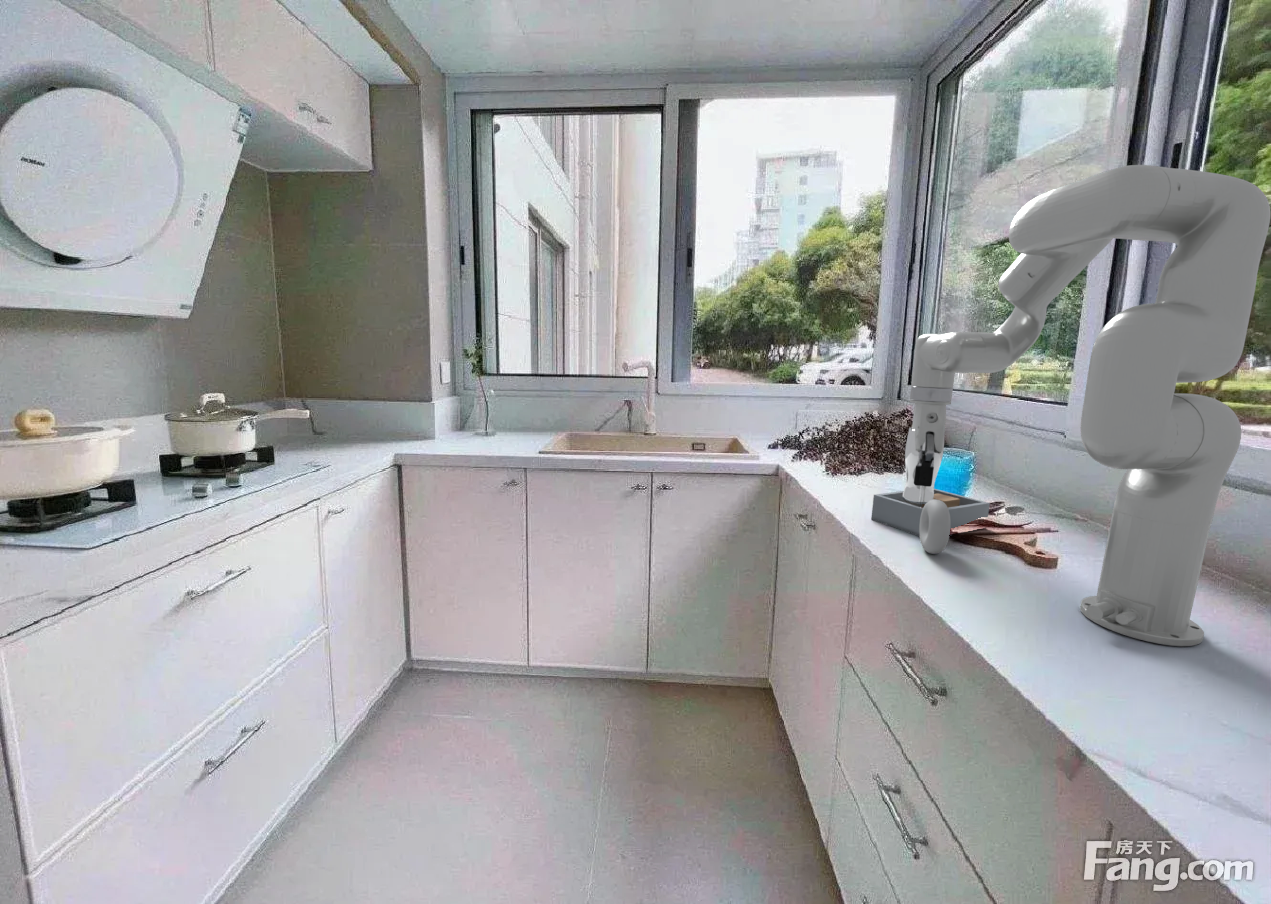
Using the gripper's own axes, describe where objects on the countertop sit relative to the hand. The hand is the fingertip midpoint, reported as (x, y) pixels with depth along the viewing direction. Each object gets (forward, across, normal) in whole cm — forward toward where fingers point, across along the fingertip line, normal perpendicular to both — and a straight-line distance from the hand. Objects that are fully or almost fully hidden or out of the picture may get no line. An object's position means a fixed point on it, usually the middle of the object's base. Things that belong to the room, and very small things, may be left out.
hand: (920, 481), depth 115 cm
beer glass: (+4, 0, 0) cm, 4 cm away
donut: (+10, -16, -1) cm, 19 cm away
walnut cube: (+9, +5, -5) cm, 12 cm away
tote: (+10, +3, -3) cm, 11 cm away
